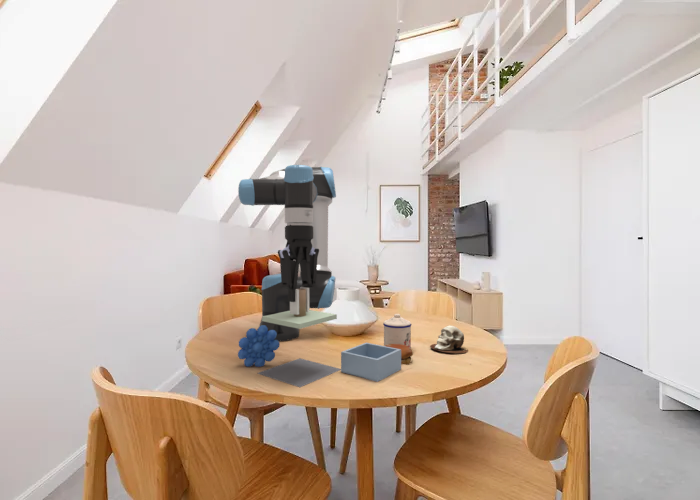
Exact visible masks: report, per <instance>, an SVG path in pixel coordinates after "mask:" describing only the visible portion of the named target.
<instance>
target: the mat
mask: <svg viewBox="0 0 700 500" xmlns="http://www.w3.org/2000/svg"><path fill="white" fill-rule="evenodd" d="M339 371H341V368H338V367H335V366H331V365H328V364H324V363H319V362H316V361H312V360H309V359H305V358H296V359H293V360H290V361H287V362H285V363H282V364H279V365H276V366H274V367H270V368H268V369H265V370H262V371H259V372H256V374H258V375H260V376H263V377H267V378H270V379H272V380H275V381H279V382H282V383H286V384H288V385H292V386H295V387H297V388H302V387H304V386H307V385H309V384H312V383H314V382H316V381H318V380H321V379H323V378H325V377H327V376H330V375H333V374H335V373H337V372H339Z"/></svg>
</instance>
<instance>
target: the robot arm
mask: <svg viewBox="0 0 700 500" xmlns="http://www.w3.org/2000/svg"><path fill="white" fill-rule="evenodd" d="M237 191H238V198H239V199H238V200H239V202H240V203H241V204H242V205H244V206H253V207H254V206H284V223H285V224H286V225H285V226H284V239H285V240H286V244H285V247H284V248H283V249H279V250H277V254H278V258H279V263H280V267H279V268H280V273H274V274H269V275H266V276H264V277H263V278H262V280H261V281H262V283H261V317H262V316H267V315H272V314H276V313H281V312H285V311H290V314H296V315H298V314H299V290H298V289H306V312H309V310H310V309H318V310H319V309H328V308H331V306H332V304H333V301H334V296H335V289H336V288H335V287H336V276H334V275H332V271H331V270H330V268H329V267H328V263H329V262H328V261H329V260H328V259H329V256H328V255H329V253H328V251H329V206H330V205H331V204H332V203H333V199H335V198H336V197H337V193H336V184H335V178H334V171H333V169H332V168H331V167H323V166H319V167H318V166H315V167H313V166H309V165H305V164H291V165H287V166H285V168H283V169H279V170H276V171H273V172H272V173H270V174H269V176H265V177H262V178H261V177H260V178H248V179H247V178H244V179H241V180H240V182H239V183H238V189H237ZM299 270H300V271H299ZM299 272H300V274H299ZM261 325H265V326H266V327H267V328H268V331H270V330H275V331H276V333H277V336H276V338H275V339H274V340H278V341H279V342H286V341H292V340H295V339H297V338H299V337H300V329H298V328H293V327H288V326H283V325H279V324H274V323H269V322H264V321H262V318H261V319H260V323H259V326H258V328H259V327H260V326H261Z"/></svg>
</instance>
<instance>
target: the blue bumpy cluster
mask: <svg viewBox="0 0 700 500" xmlns="http://www.w3.org/2000/svg"><path fill="white" fill-rule="evenodd" d="M259 326H260V325H259ZM259 326H258V328H257V329H256V328H255V327H251V328H248V330H247V331H246V333H245V336H246V337H244V336H243V337H242V338H240V339H239V341H238V347H239V348H240V349H239V350H238V352H237V358H239V359H240V360H243V365H244V366H245V367H253V366H254V367H256V368H260V367H264V366H265V364H266V362H272V361H273V360H274V359H275V358H276V353H275V351H277V350H278V349H279V348H280V341H278V340H274V339H275V338H276V336H277V333H276V331H275V330H270V331H268V328H267V327H266V326H265V325H261V326H260V327H259Z"/></svg>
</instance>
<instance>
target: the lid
mask: <svg viewBox="0 0 700 500" xmlns="http://www.w3.org/2000/svg"><path fill="white" fill-rule="evenodd" d="M298 290H299V314H298V315H296V314H290V311H285V312H281V313H276V314H272V315H267V316H262V315H261V319H262V321H264V322H269V323H274V324H279V325H283V326H288V327H293V328H298V329H299V330H302V329H304V328H309V327H312V326H315V325H319V324H322V323H327V322H330V321H334V320H337V318H338V314H336V313H332V312H324V311H318V310H313V309H309V312H306V289H298Z"/></svg>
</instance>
